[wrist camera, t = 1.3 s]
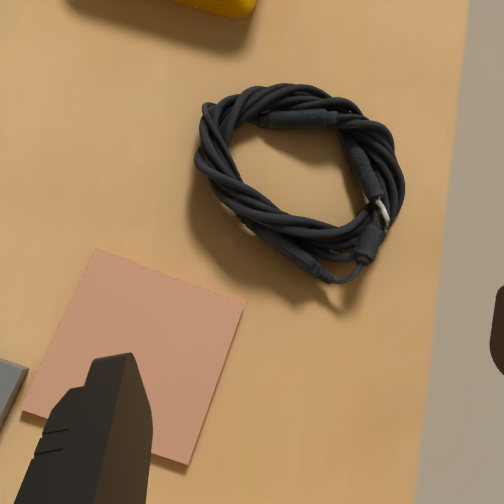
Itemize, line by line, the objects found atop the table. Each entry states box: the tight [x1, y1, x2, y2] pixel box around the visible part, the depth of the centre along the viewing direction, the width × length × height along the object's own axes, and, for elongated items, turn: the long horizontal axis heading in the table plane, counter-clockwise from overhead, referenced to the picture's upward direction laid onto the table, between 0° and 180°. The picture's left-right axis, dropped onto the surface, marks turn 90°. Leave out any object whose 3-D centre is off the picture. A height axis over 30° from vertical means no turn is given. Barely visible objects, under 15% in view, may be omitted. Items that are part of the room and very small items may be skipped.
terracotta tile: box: [20, 248, 245, 465], centre depth 28 cm, size 11×11×1 cm
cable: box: [194, 83, 405, 284], centre depth 32 cm, size 17×14×4 cm
